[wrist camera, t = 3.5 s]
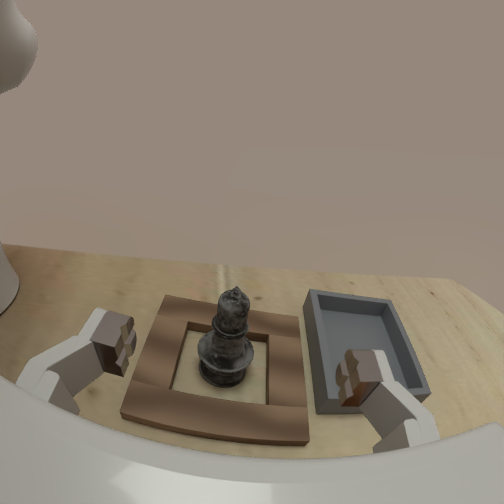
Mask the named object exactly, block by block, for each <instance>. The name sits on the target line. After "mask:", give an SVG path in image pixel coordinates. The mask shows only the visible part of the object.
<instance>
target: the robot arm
mask: <svg viewBox="0 0 504 504" xmlns="http://www.w3.org/2000/svg"><path fill="white" fill-rule="evenodd" d="M37 45H38V42H37V35H36V32H35V30H34V28H33V26H32V25H31V24H30V23H29V22H28V21H27V20H25V18H24V17H23V16H22V15H21V14H20V12H19V10H18V8H17V6H16V3H15V0H0V94H2V93H4V92H6V91H8V90H11V89H13V88H15V87H18V86H19V85H20V84H21V83H22V81H23V80H24V79H25V78H26V76H27V74H28V73H29V71H30V70H31V68H32V65H33V63H34V61H35V57H36V54H37V47H38V46H37ZM18 288H19V277H18V275H17V273H16V272H15V270H14V269H13V267H12V266H11V264H10V262H9V260H8V258H7V256H6V254H5V252H4V250H3V247H2V245H1V242H0V314H1V313H2V312H3V311H4V310H5V309H6V308H7V307H8V306H9V305H10V303H11V302H12V301H13V299H14V297H15V296H16V294H17V291H18ZM133 326H134V320H133V318H132V317H130V316H126V315H123V314H119V313H116V312H112V311H109V310H105V309H101V308H98V307H97V308H96V309H94V311H93V312H92V314H91V315H90V317H89V318H88V320H87V322H86V323H85V325H84V326H83V328H82V330H81V331H80V333H79V335H78V336H75V335H74V336H72V337H70V338H69V339H67V340H65V341H63V342H61V343H59V344H57V345H55V346H54V347H52V348H50V349H48V350H46V351H44V352H42V353H41V354H39V355H37V356H35V357H33V358H31V359H29V361H28V363H27V364H26V366H25V368H24V369H23V371H22V373H21V374H20V376H19V378H18V380H17V381H16V383H15V384H14V383H12V382H11V381H9V380H7V379H6V378H4V377H3V376H1V375H0V504H504V427H503V426H502V425H500V424H499V423H498V422H490V423H487V424H485V425H482V426H480V427H477V428H474V429H472V430H469V431H466V432H463V433H460V434H457V435H454V436H450V437H447V438H444V439H440V436H439V432H438V429H437V426H436V423H435V420H434V417H433V414H432V413H431V412H430V411H429V410H427V409H426V408H425V407H424V406H423V405H422V404H421V403H420V402H419V401H418V400H417V399H416V398H415V397H414V396H413V395H412V394H411V393H410V392H408V391H407V390H406V389H405V388H404V387H403V386H402V385H401V384H400V383H399V382H398V381H395V380H394V377H393V375H392V372H391V369H390V366H389V363H388V360H387V357H386V355H385V352H384V351H383V350H369V349H348V350H347V351H346V353H345V354H344V357H345V359H344V360H342V361H341V362H339V364H338V366H337V369H336V373H335V379H336V384H337V385H338V386H339V387H340V388H341V389H340V390H339V392H338V397H339V402H340V407H359V409H360V410H361V411H362V413H363V414H364V415H365V417H366V418H367V419H368V421H369V422H370V423H371V424H372V426H373V427H374V428H375V430H376V431H377V432H378V434H379V435H380V436H381V438H382V440H381V441H379V442H378V443H377V444H375V445H374V447H373V454H365V455H357V456H347V457H334V458H314V459H278V458H258V457H245V456H235V455H226V454H218V453H211V452H205V451H199V450H193V449H188V448H183V447H178V446H173V445H169V444H164V443H160V442H156V441H152V440H148V439H145V438H141V437H138V436H134V435H131V434H127V433H124V432H121V431H118V430H115V429H112V428H109V427H106V426H103V425H101V424H98V423H95V422H93V421H90V420H87V419H85V418H82V417H80V416H78V414H79V411H80V409H79V406H78V405H77V403H76V402H75V400H74V399H73V396H75V395H76V394H77V393H79V392H80V391H81V390H82V389H84V388H85V387H86V386H88V385H89V384H90V383H91V382H93V381H94V380H95V379H97V378H98V377H99V376H100V375H102V374H103V373H104V372H107V373H111V374H114V375H118V376H121V377H124V375H125V372H126V370H127V367H128V365H129V362H128V357H130V356H132V355H133V353H134V350H135V346H136V332H135V331H134V330H133Z"/></svg>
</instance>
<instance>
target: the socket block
mask: <svg viewBox="0 0 504 504" xmlns="http://www.w3.org/2000/svg"><path fill="white" fill-rule="evenodd" d="M217 308H218V304H212V303H206V302H201V301H195V300H190V299H185V298H180V297H175V296H170V295H165V297H164V299H163V302H162V304H161V306H160V309H159V311H158V313H157V316H156V318H155V320H154V323H153V325H152V328H151V330H150V333H149V335H148V337H147V340H146V342H145V345H144V347H143V350H142V352H141V355H140V358H139V360H138V363H137V365H136V368H135V371H134V373H133V376H132V379H131V381H130V384H129V387H128V389H127V392H126V395H125V398H124V401H123V403H122V406H121V409H120V414H121V416H122V418H124V419H128V420H131V421H134V422H138V423H141V424H145V425H148V426H152V427H156V428H160V429H164V430H169V431H173V432H178V433H182V434H187V435H193V436H198V437H204V438H210V439H216V440H224V441H231V442H240V443H250V444H262V445H280V446H305V445H306V444H307V443H308V442H309V441H310V438H309V424H308V411H307V399H306V388H305V378H304V367H303V358H302V348H301V339H300V330H299V321H298V317H296V316H289V315H281V314H274V313H267V312H261V311H254V310H249V313H248V317H247V321H248V323H249V331H248V332H247V334H246V335H245V337H246V338H247V339H248V340H253V341H260V342H267V356H266V405H263V404H254V403H245V402H237V401H230V400H223V399H216V398H210V397H205V396H199V395H194V394H189V393H184V392H179V391H174V390H171V389H172V385H173V381H174V377H175V373H176V370H177V366H178V362H179V359H180V355H181V352H182V348H183V344H184V341H185V337H186V334H187V330H193V331H199V332H204V333H208V332H210V331H213V328H212V319H213V317H214V316H215V315H216V314H217Z"/></svg>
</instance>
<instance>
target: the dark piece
mask: <svg viewBox="0 0 504 504" xmlns="http://www.w3.org/2000/svg"><path fill="white" fill-rule="evenodd" d="M249 308H250V301H249V299H248V297H247V296H246V295H245V294H244V293H243V292H241V290H240V289H239V288H238V286H237V287H235V288H233V290H228V291H226V292H224V293H223V294H221V296H220V298H219V301H218V308H217V314H216V315H215V316H214V317H213V319H212V328H213V331H210V332H208V333H206V334H205V335H204V336H203V337H202V338H201V339H200V341H199V344H198V354H199V357H200V358H201V361H200V364H199V370H200V373H201V375H202V377H203V378H204V379H205V380H206V381H207V382H208V383H210V384H212V385H214V386H217V387H232V386H235V385H237V384H239V383H240V382H241V381H242V380H243V378H244V376H245V373H246V367H247V366H248V365H249V364H250V363H251V361H252V359H253V356H254V350H253V346H252V344H251V342H250V341H249V340H248V339H247V338H246V337H245V335H246V334H247V332H248V331H249V323H248V321H247V317H248V313H249Z"/></svg>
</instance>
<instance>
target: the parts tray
mask: <svg viewBox="0 0 504 504" xmlns="http://www.w3.org/2000/svg"><path fill="white" fill-rule="evenodd" d="M303 311H304V318H305V325H306V333H307V340H308V348H309V355H310V363H311V372H312V380H313V389H314V398H315V407H316V414H355V413H362V411H361V410H360V409H359V407H340V402H339V397H338V392H339V390H340V389H341V388H340V387H339V386H338V385H337V384H336V379H335V373H336V369H337V366H338V364H339V362H341V361H342V360H344V359H345V357H344V354H345V353H346V351H347V350H348V349H369V350H383V351H384V352H385V355H386V357H387V360H388V363H389V366H390V369H391V372H392V375H393V377H394V380H395V381H398V382H399V383H400V384H401V385H402V386H403V387H404V388H405V389H406V390H407V391H408V392H410V393H411V394H412V395H413V396H414V397H415V398H416V399H417V400H418V401H419V402H420V403H422V402H423V401H424V400H425V399H426V398H427V397H428V396H429V395H430V394H431V391H430V388H429V386H428V383H427V381H426V378H425V375H424V373H423V370H422V368H421V365H420V363H419V361H418V358H417V356H416V354H415V351H414V349H413V347H412V344H411V342H410V340H409V337H408V335H407V333H406V331H405V329H404V327H403V324H402V322H401V320H400V318H399V316H398V314H397V312H396V310H395V308H394V306H393V304H392V302H391V300H386V299H378V298H371V297H363V296H356V295H349V294H341V293H334V292H327V291H321V290H314V289H309V292H308V294H307V297H306V300H305V303H304V305H303Z"/></svg>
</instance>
